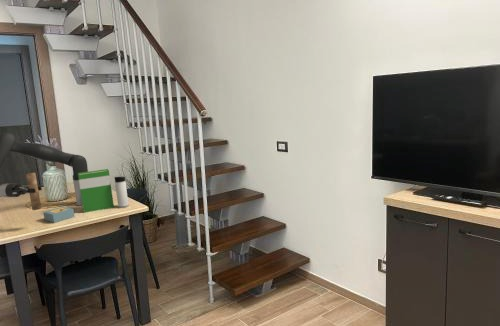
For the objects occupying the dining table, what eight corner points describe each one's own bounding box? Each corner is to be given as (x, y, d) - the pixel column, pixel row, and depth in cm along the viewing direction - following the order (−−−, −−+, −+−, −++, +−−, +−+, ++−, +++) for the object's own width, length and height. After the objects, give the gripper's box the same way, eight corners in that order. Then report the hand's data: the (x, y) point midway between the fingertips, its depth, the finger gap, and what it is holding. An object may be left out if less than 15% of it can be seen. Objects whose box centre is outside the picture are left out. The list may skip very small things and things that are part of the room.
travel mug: (115, 208, 236) (111, 177, 232) (122, 204, 242) (118, 174, 238) (123, 208, 234) (119, 177, 230) (130, 205, 240) (126, 175, 236)
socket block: (64, 214, 230) (63, 206, 229) (74, 216, 223) (73, 208, 222) (44, 219, 221) (43, 211, 220) (54, 223, 213) (52, 214, 213)
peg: (39, 207, 209) (33, 172, 205) (42, 208, 206) (36, 173, 202) (30, 209, 205) (24, 174, 202) (34, 210, 203) (28, 174, 199)
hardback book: (84, 212, 230) (78, 175, 226) (83, 209, 237) (77, 173, 232) (113, 207, 238) (108, 170, 233) (112, 204, 244) (107, 168, 240)
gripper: (-2, 187, 198) (27, 186, 196) (18, 180, 212) (45, 179, 210) (1, 200, 199) (30, 199, 197) (20, 193, 213) (47, 192, 211)
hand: (38, 189), depth 203 cm, fingers closed on peg, 4 cm apart
